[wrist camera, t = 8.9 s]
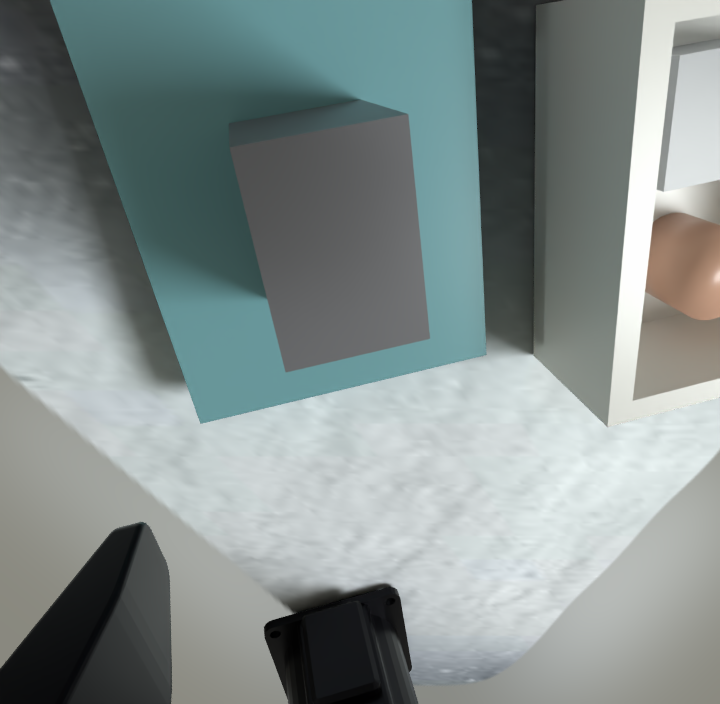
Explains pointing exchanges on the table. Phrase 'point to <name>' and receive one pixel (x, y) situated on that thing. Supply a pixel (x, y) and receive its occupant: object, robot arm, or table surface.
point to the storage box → (628, 203)
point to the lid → (293, 184)
